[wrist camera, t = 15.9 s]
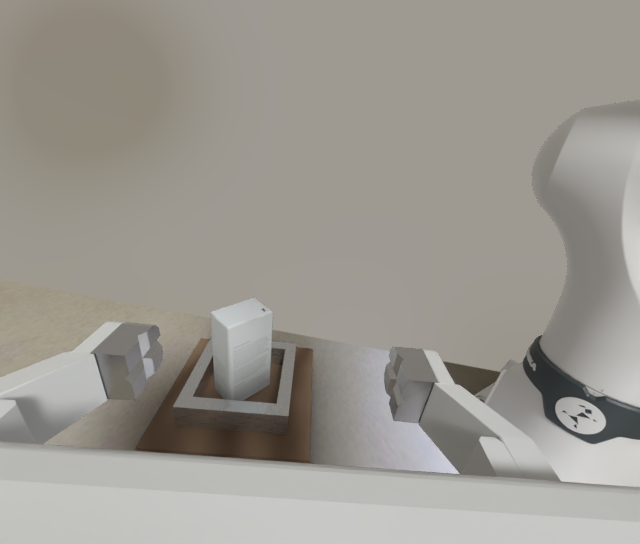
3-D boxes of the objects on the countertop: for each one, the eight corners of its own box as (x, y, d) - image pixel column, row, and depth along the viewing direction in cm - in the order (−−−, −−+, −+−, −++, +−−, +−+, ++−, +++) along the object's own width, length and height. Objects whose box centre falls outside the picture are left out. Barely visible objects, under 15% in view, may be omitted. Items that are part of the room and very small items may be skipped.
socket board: (311, 356, 47) (314, 334, 46) (308, 469, 31) (312, 441, 29) (201, 345, 46) (200, 322, 45) (137, 457, 30) (131, 427, 28)
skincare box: (252, 367, 41) (254, 296, 37) (270, 385, 39) (275, 311, 34) (212, 388, 37) (209, 310, 32) (229, 410, 35) (228, 329, 30)
